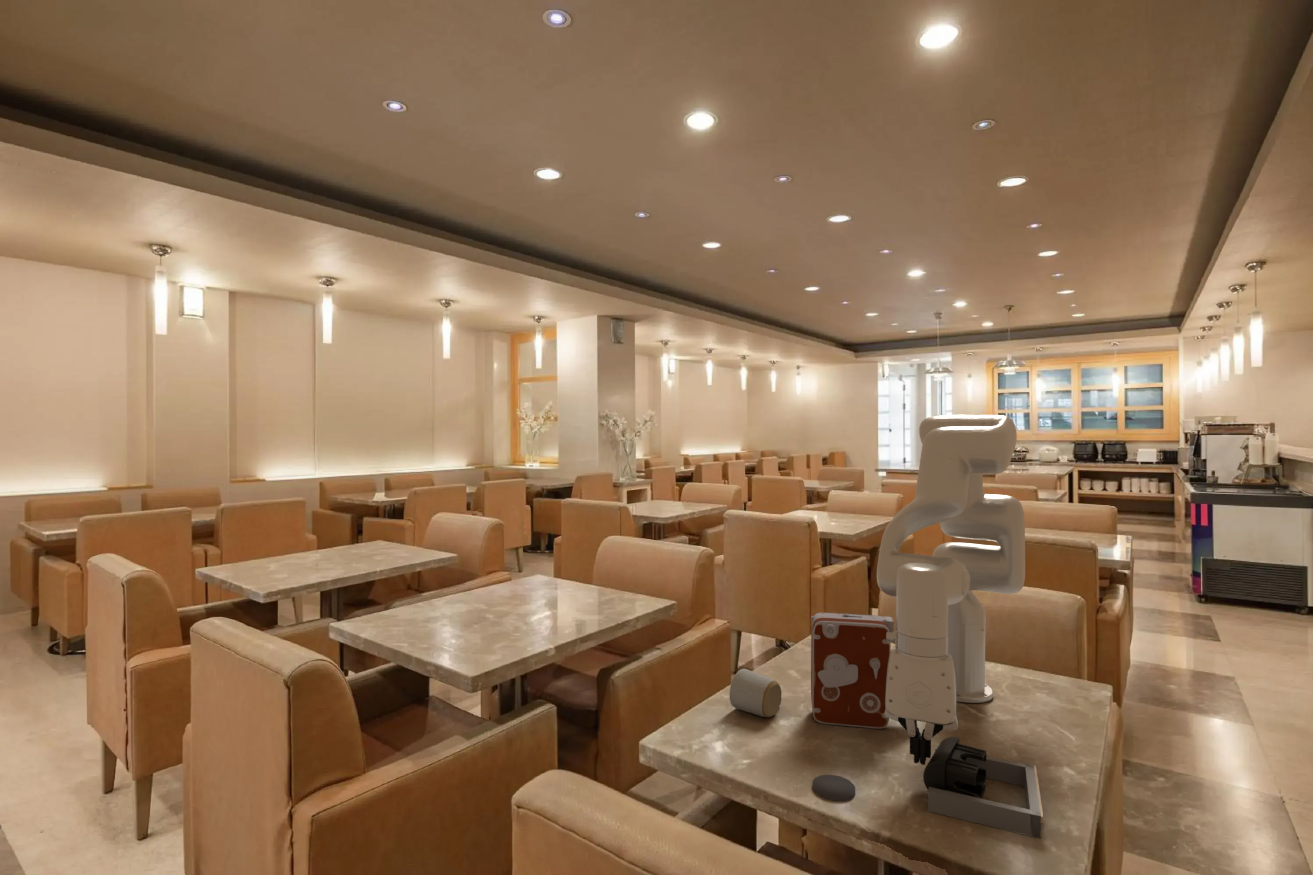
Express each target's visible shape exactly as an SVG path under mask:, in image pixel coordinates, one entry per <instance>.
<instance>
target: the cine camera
mask: <svg viewBox="0 0 1313 875" xmlns="http://www.w3.org/2000/svg"><path fill="white" fill-rule="evenodd" d="M810 622H811V631H810V632H811V633H810V635H811V636H810V637H811V640H810V641H811V642H810V647H811V648H810V694H811V695H810V696H811V697H810V698H811V710H812V712H811V713H812V716H813V720H814V721H815V722H817V723H819V724H823V725H830V726H831V725H832V726H843V727H855V728H865V729H885V728H887V727H888V725H889V723H890V718H888V717H886V716H885V714H884V713H885V709H886V706H885V695H886V678H887V667H888V660H889V655H890V651H891V649H892V647H891V641H890V640H886V634H887V632H892V631H893V632H894V631H895V623H894V622H895V621H894V620H893V618H892V617H891V616H882V615H874V614H873V615H872V614H860V613H859V614H858V613H856V614H855V613H843V612H842V613H840V612H826V611H825V612H816V613H815V614H814V615H811V616H810Z"/></svg>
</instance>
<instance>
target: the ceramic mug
mask: <svg viewBox="0 0 1313 875" xmlns="http://www.w3.org/2000/svg"><path fill="white" fill-rule="evenodd" d="M729 701H730V704H731V706H732V708H734V709H737V710H741V711H744V712H746V713H749V714H752V715H756V716H759V717H763V718H771V717H772V716H774V715H776V713H777V711H778V710H779V708H780V706H781V704H782V688H781V685H780V684H779V682H778V681H777V680H774V679H773V678H771V677H768V676H766V675H762V674H760V673H757V672H754V671H753V670H749V669H747V668H741V669H739V670H737V672H736V674H735V675H734V676H733V678H732V681H731V683H730V687H729Z"/></svg>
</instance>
